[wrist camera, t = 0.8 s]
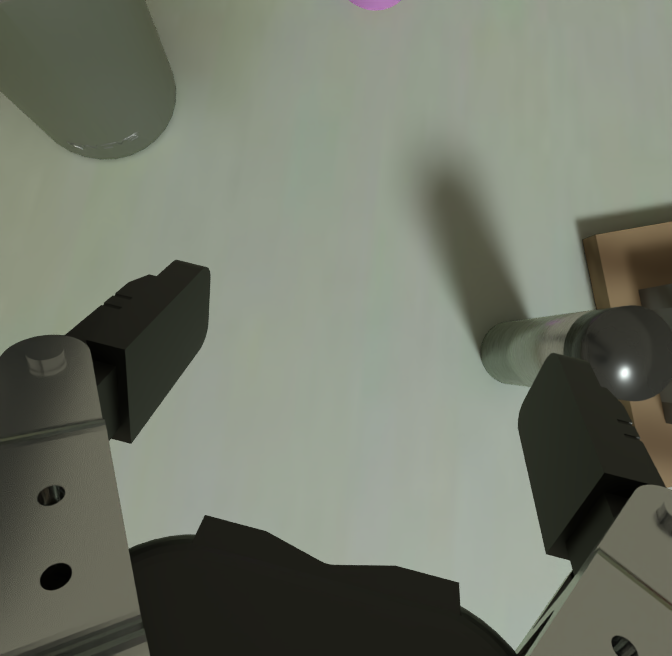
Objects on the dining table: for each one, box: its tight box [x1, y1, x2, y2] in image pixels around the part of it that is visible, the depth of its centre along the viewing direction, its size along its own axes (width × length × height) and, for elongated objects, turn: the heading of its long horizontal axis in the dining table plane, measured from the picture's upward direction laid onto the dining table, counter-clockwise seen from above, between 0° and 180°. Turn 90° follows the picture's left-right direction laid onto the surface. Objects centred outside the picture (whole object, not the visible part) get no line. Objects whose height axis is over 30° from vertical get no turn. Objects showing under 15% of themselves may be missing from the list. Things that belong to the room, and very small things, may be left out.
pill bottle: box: [481, 305, 672, 401], centre depth 28 cm, size 4×4×12 cm
